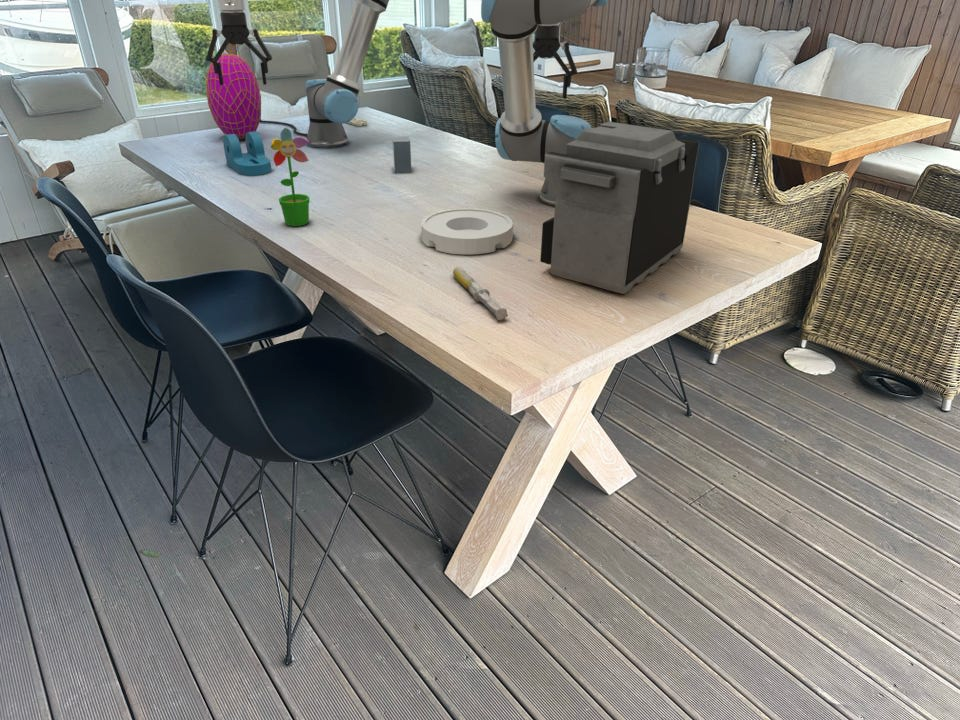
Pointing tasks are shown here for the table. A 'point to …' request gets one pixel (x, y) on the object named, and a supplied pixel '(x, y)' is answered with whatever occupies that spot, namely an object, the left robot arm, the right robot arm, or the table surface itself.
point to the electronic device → (618, 204)
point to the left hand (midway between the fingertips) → (243, 84)
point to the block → (401, 154)
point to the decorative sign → (357, 122)
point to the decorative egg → (234, 96)
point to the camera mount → (246, 154)
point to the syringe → (479, 293)
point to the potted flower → (291, 178)
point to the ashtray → (467, 231)
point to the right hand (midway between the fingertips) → (543, 98)
